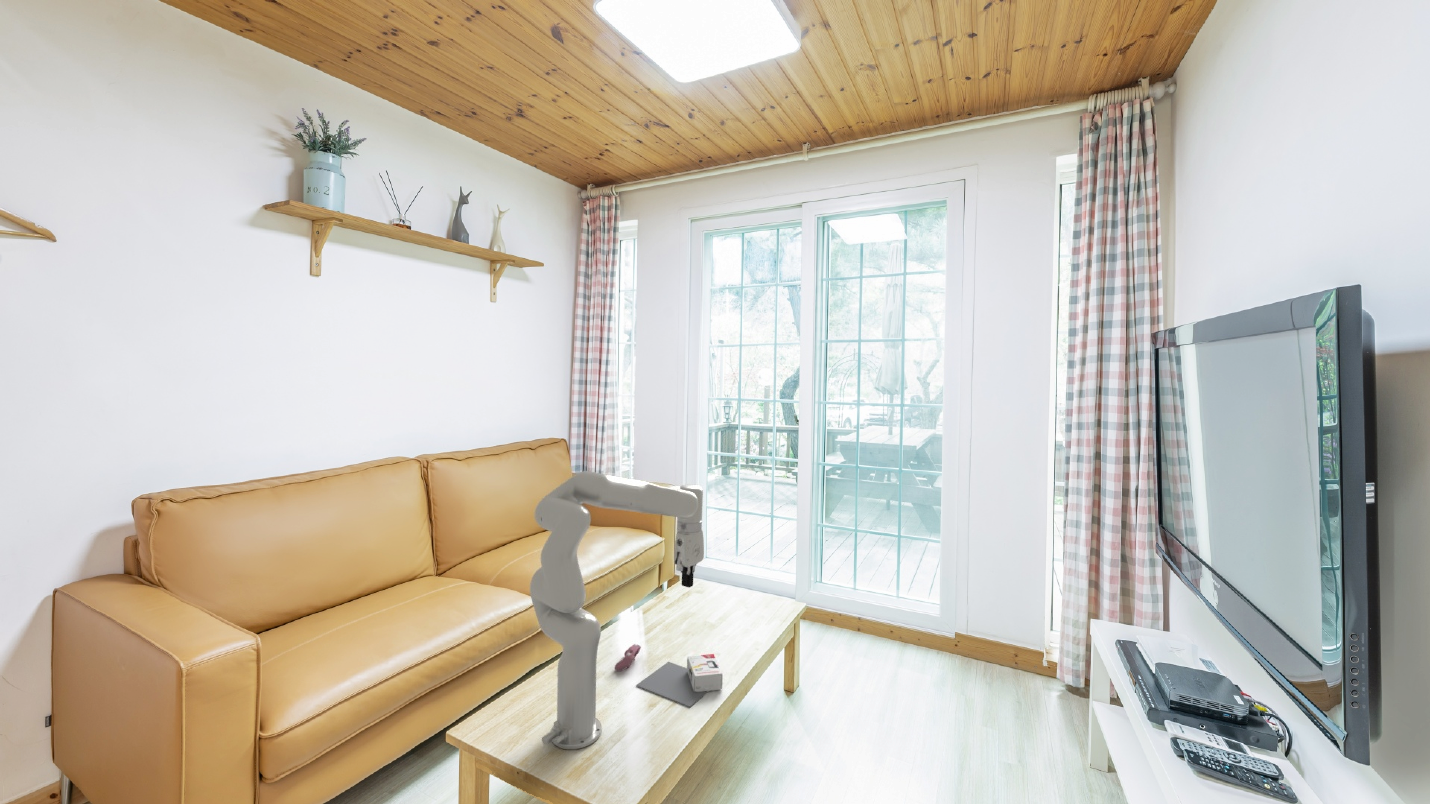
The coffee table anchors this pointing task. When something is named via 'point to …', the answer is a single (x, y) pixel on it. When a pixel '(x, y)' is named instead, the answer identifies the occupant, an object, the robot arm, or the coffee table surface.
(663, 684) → the mat
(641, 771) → the coffee table surface
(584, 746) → the robot arm
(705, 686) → the ink box
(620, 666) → the video game controller
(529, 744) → the coffee table surface
